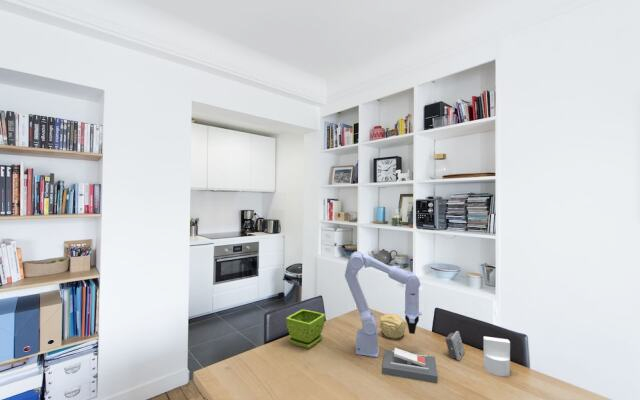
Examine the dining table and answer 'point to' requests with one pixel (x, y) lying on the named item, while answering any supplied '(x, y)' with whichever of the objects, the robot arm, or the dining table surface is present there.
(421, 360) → the rocker paddle
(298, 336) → the flower pot
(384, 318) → the sculpture
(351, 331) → the dining table surface
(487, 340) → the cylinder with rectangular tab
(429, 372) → the switch panel
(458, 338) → the grey stone block
